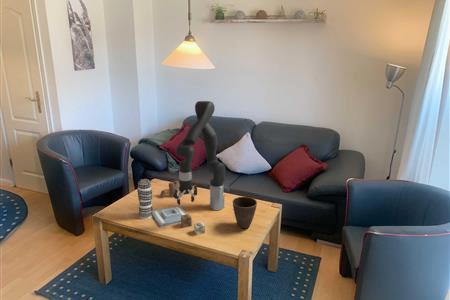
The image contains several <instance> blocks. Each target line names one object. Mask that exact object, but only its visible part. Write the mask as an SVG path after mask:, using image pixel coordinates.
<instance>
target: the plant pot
mask: <svg viewBox="0 0 450 300" xmlns="http://www.w3.org/2000/svg"><path fill="white" fill-rule="evenodd" d="M257 205H258V201H257V200H256V199H255V198H254V197H253V198H252V197H250V196H238V197H235V198H233V200H232V207H233V213H234V217H235V221H236V223H237V226H238V227H240V228H241V229H247V228H248V229H249V227H250V226H251V224H252V222H253V219H254V217H255V215H256V210H257Z"/></svg>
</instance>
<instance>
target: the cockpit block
mask: <svg viewBox="0 0 450 300" xmlns="http://www.w3.org/2000/svg"><path fill="white" fill-rule="evenodd" d="M193 232H194V233H195V234H196V236H199V235H202V234H205V233H206V225H205V224H204V222H202V221H200V222H196V223H193Z"/></svg>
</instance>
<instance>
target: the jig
mask: <svg viewBox="0 0 450 300" xmlns="http://www.w3.org/2000/svg"><path fill="white" fill-rule="evenodd" d="M152 211H153V212H152V213H153V216H152V217H153V218H154V220H155V221H156V223H157V224H158V226H159V227H165V226H169V225H174V224H179V223H181V216H182V215H186V214H188V213H187V212H186V211H185V210H184V209H183V208H182V206H181V205H175V206H171V207H167V208H162V209H161V208H160V209H156V210H152Z"/></svg>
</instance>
